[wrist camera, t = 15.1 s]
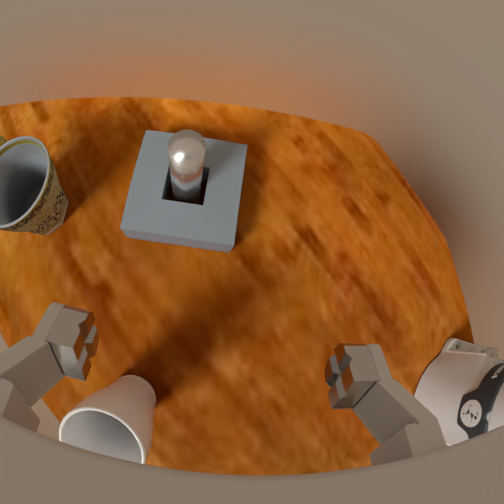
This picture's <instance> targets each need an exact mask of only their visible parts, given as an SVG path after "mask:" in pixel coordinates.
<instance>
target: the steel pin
mask: <svg viewBox="0 0 504 504" xmlns="http://www.w3.org/2000/svg"><path fill="white" fill-rule="evenodd" d="M205 147H206V143H205V140H204V138H203V136H202V135H201V134H199V133H198V132H196V131H193V130H181V131H178V132H176V133H175V134H174V135H173V136H172V137H171V138H170V139H169V142H168V156H169V165H170V175H171V183H172V192H173V199H174V201H177V202H184V203H191V204H197V203H198V201H199V199H200V190H201V181H202V172H203V164H204V155H205Z"/></svg>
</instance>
